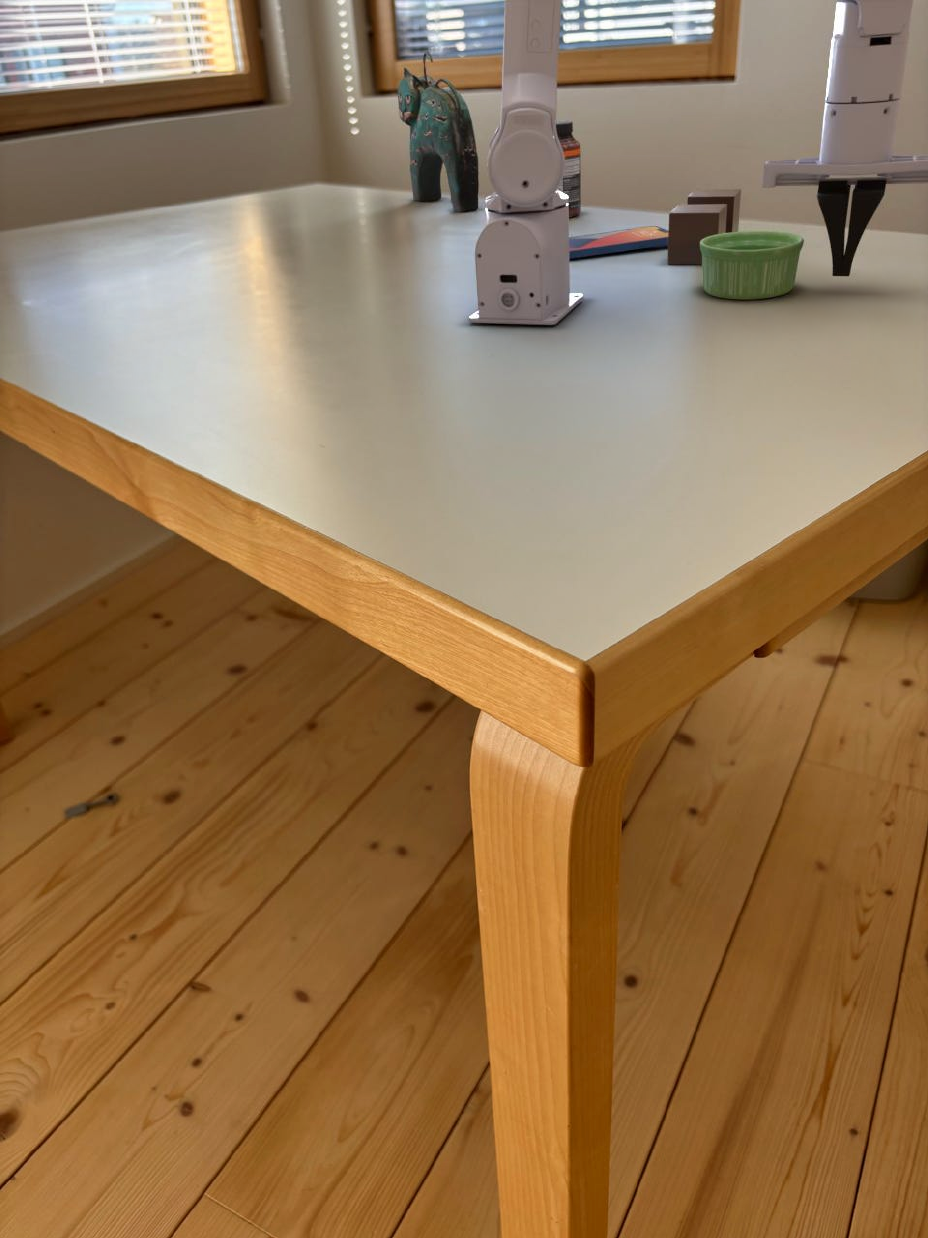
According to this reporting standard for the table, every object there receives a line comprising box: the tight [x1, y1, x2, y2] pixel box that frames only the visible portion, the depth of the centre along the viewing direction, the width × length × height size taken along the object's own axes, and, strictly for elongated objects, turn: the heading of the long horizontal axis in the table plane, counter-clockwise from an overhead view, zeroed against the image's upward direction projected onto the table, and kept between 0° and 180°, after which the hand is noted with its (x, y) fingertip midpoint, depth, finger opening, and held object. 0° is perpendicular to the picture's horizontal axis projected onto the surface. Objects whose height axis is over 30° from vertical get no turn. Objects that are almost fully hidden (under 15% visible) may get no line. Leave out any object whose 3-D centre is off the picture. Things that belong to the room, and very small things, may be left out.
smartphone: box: [569, 225, 669, 260], centre depth 111 cm, size 7×15×1 cm, turn 104°
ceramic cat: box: [397, 50, 480, 213], centre depth 144 cm, size 20×6×20 cm, turn 24°
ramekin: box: [700, 230, 805, 300], centre depth 90 cm, size 9×9×4 cm
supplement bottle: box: [556, 119, 582, 218], centre depth 130 cm, size 6×6×11 cm
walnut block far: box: [686, 188, 742, 233], centre depth 110 cm, size 5×5×5 cm
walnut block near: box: [666, 204, 727, 266], centre depth 103 cm, size 5×5×5 cm
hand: (841, 273), depth 88 cm, fingers closed
